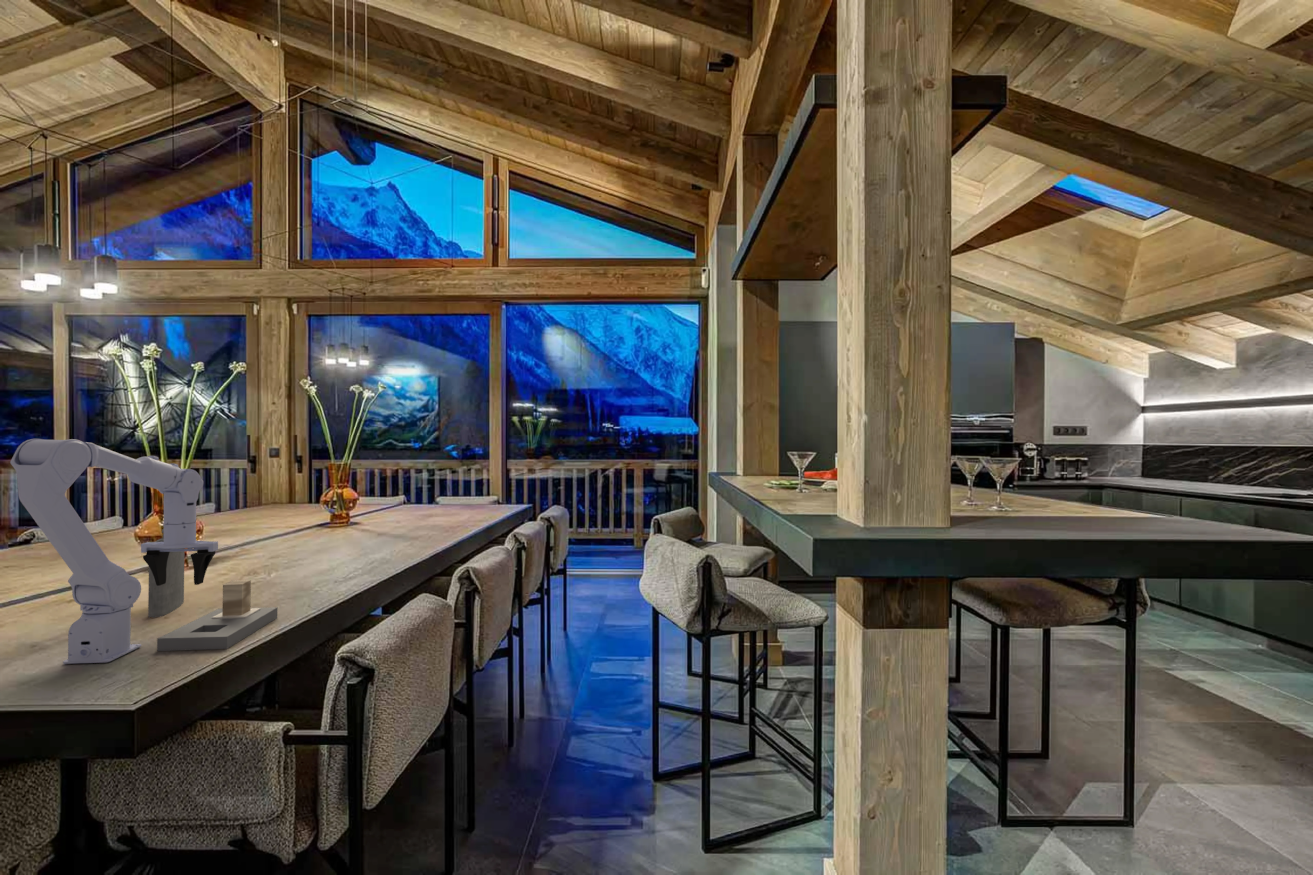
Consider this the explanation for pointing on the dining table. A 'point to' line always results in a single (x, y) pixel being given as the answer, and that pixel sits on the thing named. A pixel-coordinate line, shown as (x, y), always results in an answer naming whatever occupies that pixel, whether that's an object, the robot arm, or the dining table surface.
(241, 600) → the peg
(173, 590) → the hip flask
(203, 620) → the pocket plate
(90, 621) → the robot arm
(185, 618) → the dining table surface
